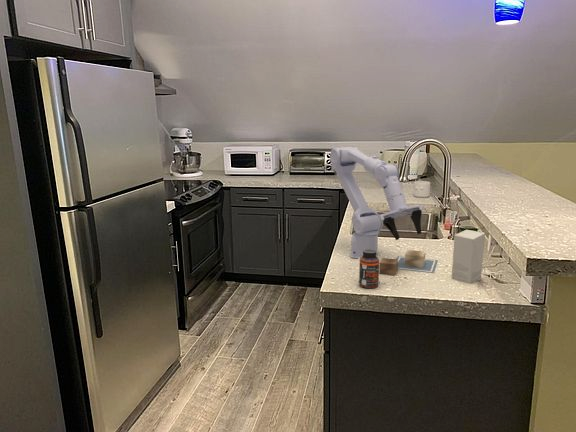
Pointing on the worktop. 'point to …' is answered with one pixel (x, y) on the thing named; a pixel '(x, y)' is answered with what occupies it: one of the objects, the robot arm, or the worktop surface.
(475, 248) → the skincare box
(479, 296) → the worktop surface
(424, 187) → the mug
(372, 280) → the supplement bottle
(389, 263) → the walnut cube
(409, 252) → the maple base block
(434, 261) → the board
